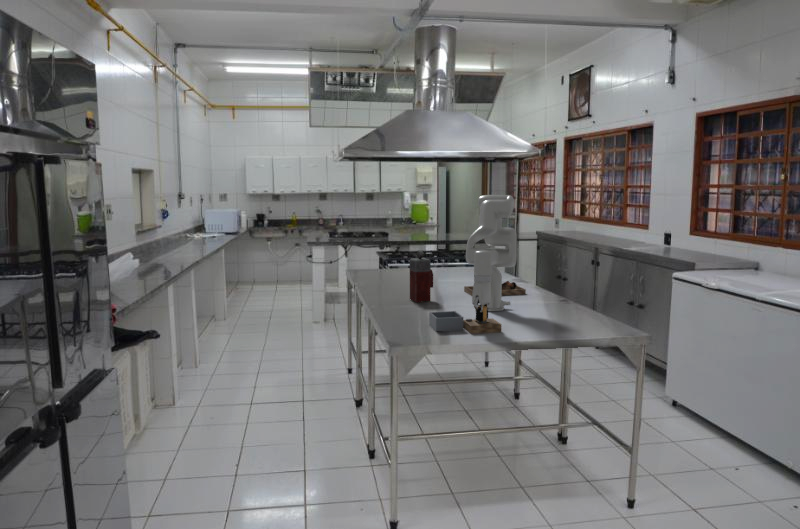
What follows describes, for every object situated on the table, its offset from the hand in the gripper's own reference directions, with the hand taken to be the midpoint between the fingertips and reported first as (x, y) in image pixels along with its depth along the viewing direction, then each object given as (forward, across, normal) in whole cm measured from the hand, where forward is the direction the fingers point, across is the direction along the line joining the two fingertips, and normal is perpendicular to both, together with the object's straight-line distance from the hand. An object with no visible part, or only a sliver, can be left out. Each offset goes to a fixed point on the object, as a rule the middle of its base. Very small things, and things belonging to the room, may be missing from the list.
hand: (482, 319), depth 250 cm
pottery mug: (+5, -88, -25) cm, 91 cm away
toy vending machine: (+5, -41, -57) cm, 70 cm away
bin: (+5, +5, -15) cm, 17 cm away
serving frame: (+5, -83, -32) cm, 89 cm away
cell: (+3, 0, 0) cm, 3 cm away
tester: (+5, 0, 0) cm, 5 cm away
